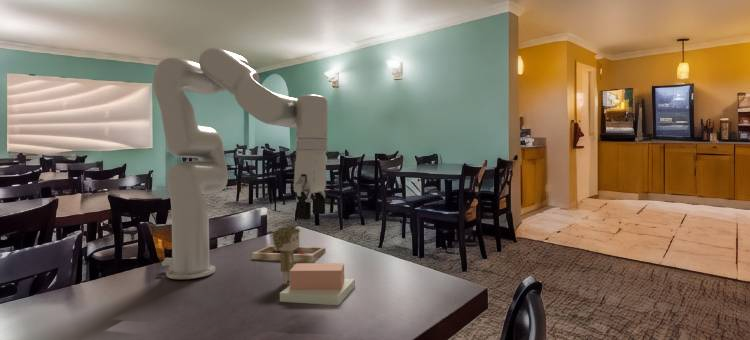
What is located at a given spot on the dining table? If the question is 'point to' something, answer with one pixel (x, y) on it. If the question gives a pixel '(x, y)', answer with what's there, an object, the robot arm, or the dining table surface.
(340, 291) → the plate
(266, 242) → the dining table surface
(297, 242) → the toy
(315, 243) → the dining table surface
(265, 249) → the car corral
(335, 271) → the brick
